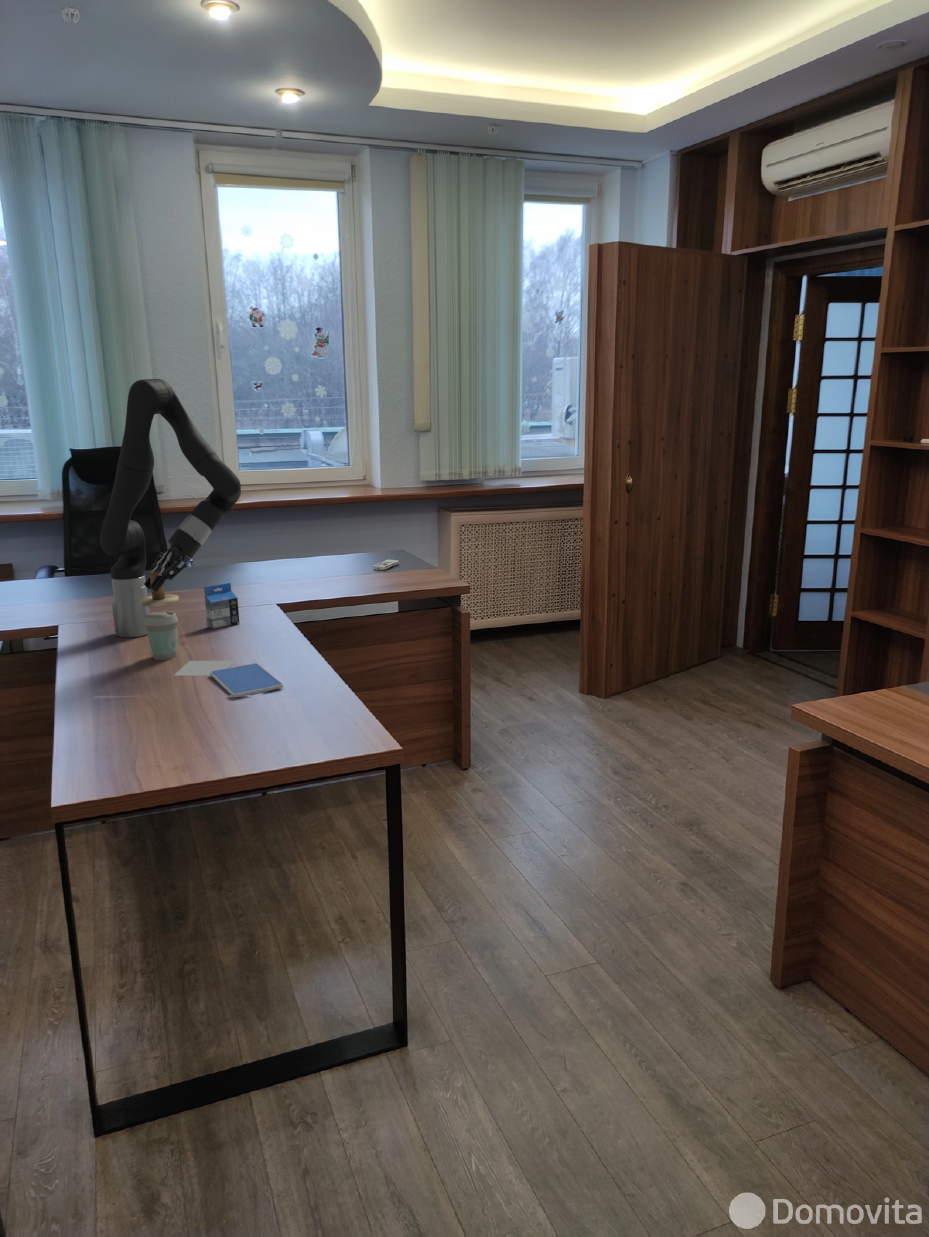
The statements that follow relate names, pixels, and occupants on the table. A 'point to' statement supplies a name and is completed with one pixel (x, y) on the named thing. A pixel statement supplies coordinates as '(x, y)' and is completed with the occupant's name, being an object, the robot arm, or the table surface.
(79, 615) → the table surface
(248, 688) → the tablet computer
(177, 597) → the lid
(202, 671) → the coaster
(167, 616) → the coffee cup
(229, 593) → the ink cartridge box
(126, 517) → the robot arm
